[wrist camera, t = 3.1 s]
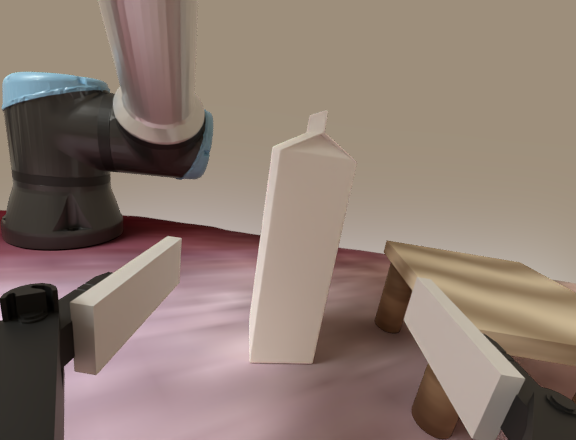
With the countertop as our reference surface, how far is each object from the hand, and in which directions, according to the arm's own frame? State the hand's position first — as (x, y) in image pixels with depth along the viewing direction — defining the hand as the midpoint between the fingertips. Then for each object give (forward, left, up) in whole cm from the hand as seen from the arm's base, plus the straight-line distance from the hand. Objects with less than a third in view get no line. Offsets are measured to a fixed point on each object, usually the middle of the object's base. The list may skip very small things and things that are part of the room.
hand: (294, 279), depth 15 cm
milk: (-10, 0, -12) cm, 16 cm away
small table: (-10, +19, -12) cm, 25 cm away
